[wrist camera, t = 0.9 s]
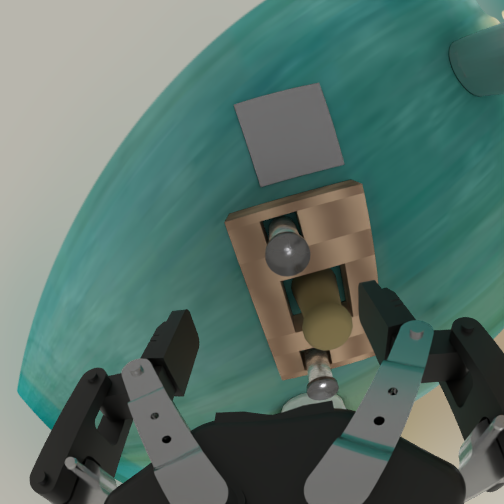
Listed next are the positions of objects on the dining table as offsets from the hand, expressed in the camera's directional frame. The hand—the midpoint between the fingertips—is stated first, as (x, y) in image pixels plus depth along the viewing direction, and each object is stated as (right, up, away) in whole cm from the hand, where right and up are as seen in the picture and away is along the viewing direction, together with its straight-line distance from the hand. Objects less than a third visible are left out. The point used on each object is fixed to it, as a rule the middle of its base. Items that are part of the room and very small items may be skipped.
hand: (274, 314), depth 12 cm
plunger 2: (+8, -11, +24) cm, 27 cm away
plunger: (+2, +5, +18) cm, 19 cm away
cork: (+7, -1, +23) cm, 24 cm away
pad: (+3, +16, +16) cm, 23 cm away
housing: (+7, -1, +23) cm, 24 cm away
